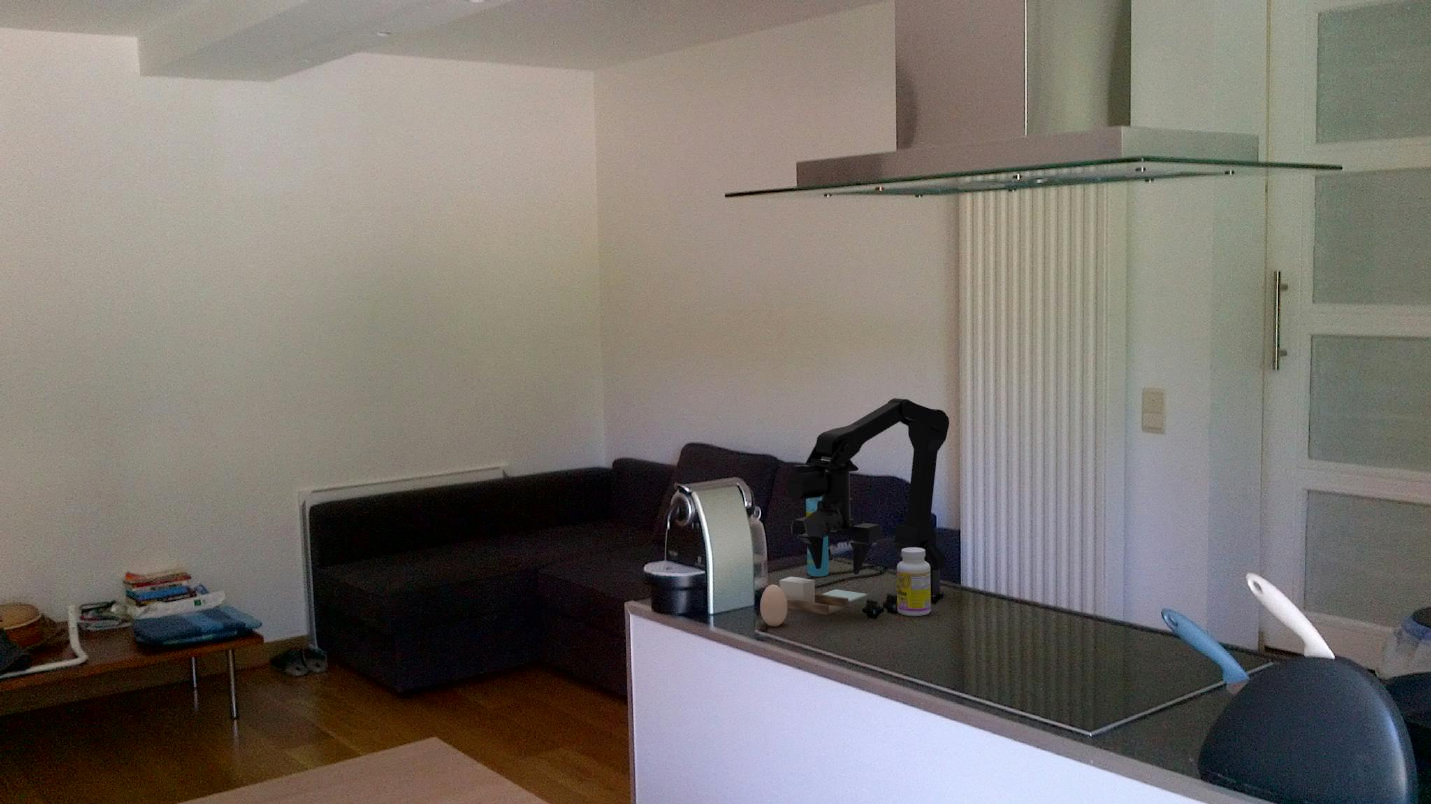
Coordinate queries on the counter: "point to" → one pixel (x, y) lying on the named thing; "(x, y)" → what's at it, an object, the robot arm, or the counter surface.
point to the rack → (819, 604)
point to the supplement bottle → (913, 583)
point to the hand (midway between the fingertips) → (837, 571)
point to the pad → (846, 594)
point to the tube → (824, 570)
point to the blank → (798, 589)
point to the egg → (773, 605)
